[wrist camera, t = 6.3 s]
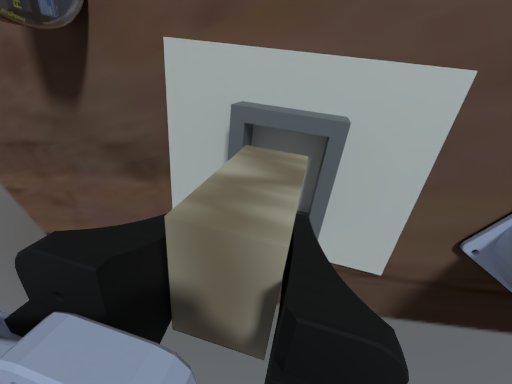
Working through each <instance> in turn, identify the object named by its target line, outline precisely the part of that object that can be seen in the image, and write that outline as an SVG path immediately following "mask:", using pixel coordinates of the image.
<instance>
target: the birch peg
mask: <svg viewBox="0 0 512 384" xmlns="http://www.w3.org/2000/svg"><path fill="white" fill-rule="evenodd" d="M307 159H308V156H304V155H298V154H293V153H287V152H282V151H276V150H271V149H266V148H260V147H255V146H249V145H246V146H245V147H243V148H242V149H241V150H240V151H239V152H238V153H236V154H235V155H234V156H233V157H232V158H231V159H230V160H228V161H227V162H226V163H225V164H224V165H223V166H222V167H220V168H219V169H218V170H217V171H216V172H215V173H214V174H212V175H211V176H210V177H209V178H208V179H207V180H206V181H204V182H203V183H202V184H201V185H200V186H199V187H197V188H196V189H195V190H194V191H193V192H192V193H191V194H189V195H188V196H187V197H186V198H185V199H184V200H183V201H181V202H180V203H179V204H178V205H177V206H176V207H175V208H173V209H172V210H171V211H170V212H169V213H168V214H166V215H165V216H164V217H165V230H166V244H167V258H168V272H169V285H170V299H171V313H172V327H173V330H176V331H179V332H182V333H185V334H188V335H191V336H194V337H197V338H200V339H203V340H205V341H208V342H212V343H214V344H217V345H220V346H223V347H226V348H229V349H232V350H235V351H238V352H241V353H244V354H247V355H249V356H252V357H255V358H258V359H261V360H264V358H265V354H266V349H267V345H268V340H269V335H270V331H271V327H272V322H273V317H274V313H275V308H276V304H277V299H278V295H279V290H280V286H281V281H282V277H283V272H284V268H285V263H286V259H287V254H288V250H289V245H290V240H291V235H292V231H293V226H294V221H295V216H296V211H297V207H298V202H299V197H300V192H301V188H302V183H303V178H304V173H305V169H306V164H307Z"/></svg>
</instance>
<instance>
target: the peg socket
mask: <svg viewBox="0 0 512 384" xmlns="http://www.w3.org/2000/svg"><path fill="white" fill-rule="evenodd" d="M163 39H164V57H165V76H166V94H167V113H168V132H169V150H170V169H171V188H172V206H173V208H175V207H176V206H177V205H178V204H179V203H180V202H181V201H183V200H184V199H185V198H186V197H187V196H188V195H189V194H191V193H192V192H193V191H194V190H195V189H196V188H197V187H199V186H200V185H201V184H202V183H203V182H204V181H206V180H207V179H208V178H209V177H210V176H211V175H212V174H214V173H215V172H216V171H217V170H218V169H219V168H220V167H222V166H223V165H224V164H225V163H226V162H227V161H228V160H230V159H231V158H232V157H233V156H234V155H235V154H236V153H238V152H239V151H240V150H241V149H242V148H243V147H245V146H246V145H249V146H255V147H260V148H266V149H271V150H276V151H282V152H287V153H293V154H298V155H304V156H308V159H307V164H306V169H305V173H304V178H303V183H302V188H301V192H300V197H299V202H298V207H297V211H296V213H299V214H303V215H308V216H309V218H310V222H311V225H312V228H313V231H314V233H315V236H316V238H317V240H318V242H319V244H320V246H321V248H322V250H323V252H324V254H325V255H326V257H327V259H328V261H329V262H330V263H334V264H338V265H342V266H346V267H350V268H354V269H358V270H361V271H365V272H369V273H373V274H377V275H381V274H382V272H383V270H384V268H385V266H386V264H387V262H388V260H389V257H390V255H391V253H392V251H393V249H394V247H395V245H396V243H397V241H398V238H399V236H400V234H401V232H402V230H403V228H404V226H405V224H406V222H407V219H408V217H409V215H410V213H411V211H412V209H413V207H414V205H415V203H416V200H417V198H418V196H419V194H420V192H421V190H422V188H423V186H424V184H425V181H426V179H427V177H428V175H429V173H430V171H431V169H432V167H433V164H434V162H435V160H436V158H437V156H438V154H439V152H440V150H441V148H442V145H443V143H444V141H445V139H446V137H447V135H448V133H449V131H450V129H451V126H452V124H453V122H454V120H455V118H456V116H457V114H458V112H459V110H460V107H461V105H462V103H463V101H464V99H465V97H466V95H467V93H468V91H469V88H470V86H471V84H472V82H473V80H474V78H475V76H476V74H477V72H478V71H473V70H464V69H455V68H446V67H436V66H427V65H418V64H409V63H400V62H391V61H381V60H372V59H363V58H354V57H345V56H335V55H326V54H317V53H308V52H299V51H290V50H280V49H271V48H262V47H253V46H244V45H234V44H225V43H216V42H207V41H198V40H189V39H179V38H170V37H163Z"/></svg>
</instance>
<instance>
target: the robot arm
mask: <svg viewBox="0 0 512 384" xmlns="http://www.w3.org/2000/svg"><path fill="white" fill-rule="evenodd" d="M166 214H168V213H166ZM166 214H163V215H160V216H157V217H153V218H150V219H146V220H142V221H137V222H132V223H127V224H123V225H117V226H110V227H103V228H94V229H83V230H67V231H54V232H52V233H51V234H49V235H47V236H45V237H44V238H42V239H41V240H39V241H37V242H35V243H34V244H32V245H30V246H28V247H27V248H25V249H23V250H21V251H20V252H18V254H17V256H16V259H15V268H16V271H17V274H18V276H19V278H20V281H21V283H22V285H23V287H24V289H25V291H26V293H27V296H28V298H29V301H28V302H27V303H25V304H24V305H23V306H21V307H20V308H19V309H17V310H16V311H15V312H13V313H12V314H11V315H10V314H7V313H4V312H2V311H0V384H196V380H195V378H194V375H193V373H192V371H191V368H190V366H189V365H188V364H187V363H186V362H185V361H184V360H183V359H182V358H181V357H180V356H179V355H178V354H177V353H175V352H173V351H171V350H170V349H168V348H166V347H164V346H162V345H160V342H161V340H162V338H163V336H164V334H165V332H166V330H167V327H168V325H169V324H170V321H171V320H172V313H171V299H170V285H169V272H168V258H167V244H166V230H165V217H164V216H165V215H166ZM460 247H461V249H462V250H463V251H464V252H465V253H466V254H467V255H468V256H469V257H471V258H472V259H473V260H474V261H475V262H477V263H478V264H479V265H480V266H481V267H482V268H484V269H485V270H486V271H487V272H488V273H490V274H491V275H492V276H493V277H494V278H495V279H497V280H498V281H499V282H500V283H501V284H502V285H504V286H505V287H506V288H507V289H508V290H510V291H511V292H512V214H511V215H509V216H508V217H506V218H504V219H502V220H501V221H499V222H497V223H495V224H494V225H492V226H490V227H488V228H487V229H485V230H483V231H481V232H480V233H478V234H476V235H474V236H472V237H471V238H469V239H467V240H465V241H464V242H462V243H461V245H460ZM473 250H476V251H475V252H472V251H473ZM408 381H409V376H408V369H407V365H406V361H405V358H404V355H403V352H402V349H401V347H400V344H399V341H398V339H397V337H396V334H395V332H394V329H393V328H392V327H391V326H389V325H388V324H387V323H386V322H385V321H384V320H382V319H381V318H380V317H379V316H378V315H377V314H375V313H374V312H373V311H372V310H371V309H370V308H369V307H368V306H367V305H366V304H365V303H364V302H363V301H361V300H360V299H359V298H358V297H357V296H356V294H355V293H354V292H353V291H352V290H351V289H350V288H349V287H348V286H347V285H346V283H345V282H344V281H343V280H342V279H341V277H340V276H339V275H338V274H337V272H336V271H335V270H334V268H333V267H332V265H331V264H330V262H329V261H328V259H327V257H326V255H325V254H324V252H323V250H322V248H321V246H320V244H319V242H318V240H317V238H316V236H315V233H314V231H313V228H312V225H311V222H310V218H309V216H308V215H303V214H299V213H296V216H295V221H294V226H293V231H292V235H291V240H290V245H289V250H288V254H287V259H286V263H285V268H284V272H283V279H282V289H281V299H280V307H279V314H278V319H277V325H276V330H275V334H274V340H273V344H272V349H271V354H270V359H269V364H268V369H267V374H266V379H265V384H407V383H408Z"/></svg>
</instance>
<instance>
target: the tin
mask: <svg viewBox="0 0 512 384" xmlns="http://www.w3.org/2000/svg"><path fill="white" fill-rule="evenodd" d="M83 3H84V0H0V20H1V21H4V22H7V23H12V24H17V25H23V26H27V27H30V28H35V29H42V30H52V29H58V28H61V27H64V26H66V25H68V24H69V23H71V22H72V21H73V20H74V19H75V18H76V17H77V16H78V14H79V12H80V11H81V9H82V6H83Z"/></svg>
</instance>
